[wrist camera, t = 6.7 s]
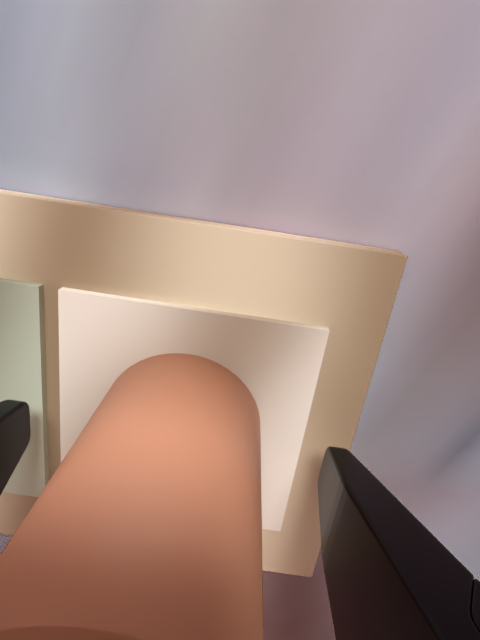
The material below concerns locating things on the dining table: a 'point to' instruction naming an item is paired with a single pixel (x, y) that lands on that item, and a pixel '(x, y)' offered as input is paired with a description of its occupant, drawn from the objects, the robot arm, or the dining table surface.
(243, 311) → the board
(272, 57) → the dining table surface
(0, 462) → the robot arm
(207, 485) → the peach rounded cylinder
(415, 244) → the dining table surface
